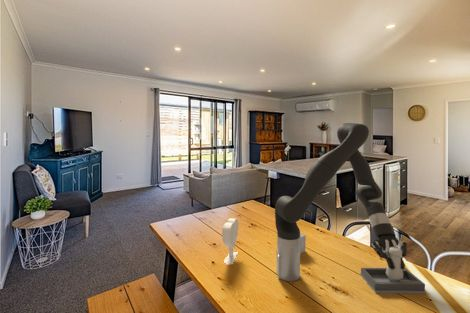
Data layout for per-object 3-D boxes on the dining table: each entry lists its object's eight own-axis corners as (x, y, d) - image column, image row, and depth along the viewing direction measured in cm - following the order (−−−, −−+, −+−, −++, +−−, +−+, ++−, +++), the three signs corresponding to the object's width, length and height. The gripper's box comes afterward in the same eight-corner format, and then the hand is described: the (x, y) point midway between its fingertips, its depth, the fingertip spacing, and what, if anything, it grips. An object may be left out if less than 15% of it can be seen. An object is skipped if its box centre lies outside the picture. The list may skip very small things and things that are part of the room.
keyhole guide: (375, 292, 91) (375, 284, 90) (360, 274, 103) (360, 267, 102) (425, 293, 90) (426, 285, 89) (404, 275, 102) (404, 267, 101)
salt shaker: (386, 273, 100) (388, 243, 99) (403, 279, 97) (405, 247, 96) (384, 280, 96) (385, 248, 95) (402, 286, 92) (403, 253, 91)
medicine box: (297, 248, 127) (298, 232, 126) (305, 251, 124) (305, 234, 123) (289, 254, 121) (289, 237, 121) (297, 257, 118) (297, 239, 117)
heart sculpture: (230, 249, 127) (230, 215, 126) (240, 250, 126) (239, 216, 124) (221, 264, 112) (220, 226, 111) (231, 266, 111) (231, 227, 109)
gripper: (367, 222, 102) (383, 266, 91) (402, 222, 102) (422, 266, 90) (361, 229, 108) (375, 271, 97) (394, 229, 107) (411, 271, 96)
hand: (397, 268), depth 94 cm, fingers closed on salt shaker, 3 cm apart
